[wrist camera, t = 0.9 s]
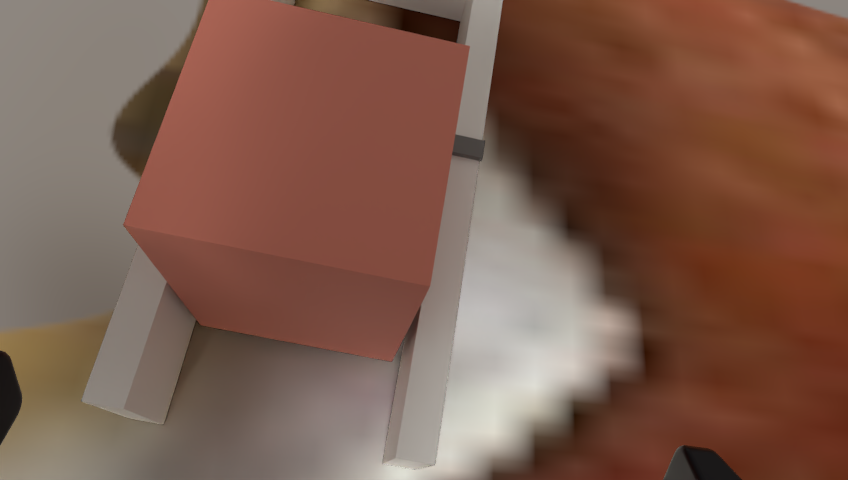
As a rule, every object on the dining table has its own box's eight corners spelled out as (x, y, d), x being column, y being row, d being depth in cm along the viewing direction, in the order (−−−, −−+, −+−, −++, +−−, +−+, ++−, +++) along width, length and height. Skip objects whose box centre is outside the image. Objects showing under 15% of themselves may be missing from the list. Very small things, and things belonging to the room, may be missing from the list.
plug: (391, 361, 20) (430, 286, 12) (200, 325, 19) (123, 224, 12) (422, 193, 22) (470, 45, 15) (252, 157, 22) (213, -13, 14)
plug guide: (416, 469, 19) (438, 465, 15) (127, 418, 19) (75, 399, 15) (489, 1, 26) (517, -83, 23) (283, -48, 26) (275, -142, 22)
